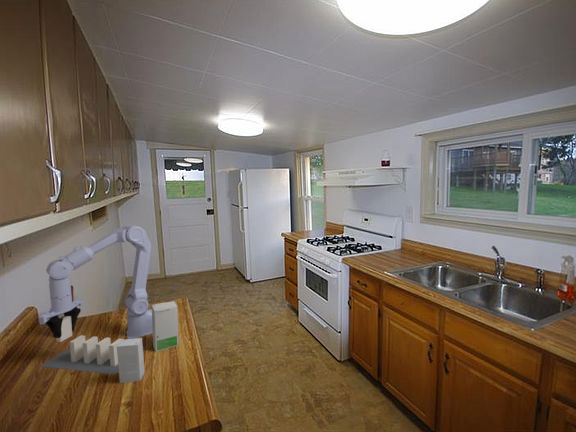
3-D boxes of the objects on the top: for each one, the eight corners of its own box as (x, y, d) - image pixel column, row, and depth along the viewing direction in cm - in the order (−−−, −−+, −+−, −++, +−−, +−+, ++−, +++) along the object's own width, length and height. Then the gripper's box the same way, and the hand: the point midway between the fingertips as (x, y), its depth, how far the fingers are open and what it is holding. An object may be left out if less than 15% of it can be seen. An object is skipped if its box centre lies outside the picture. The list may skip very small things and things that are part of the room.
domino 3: (84, 362, 97) (82, 343, 97) (95, 355, 102) (93, 336, 101) (88, 363, 97) (86, 343, 96) (99, 355, 101) (97, 336, 101)
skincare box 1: (145, 373, 92) (142, 337, 91) (140, 382, 88) (138, 344, 87) (124, 375, 91) (121, 339, 90) (119, 384, 87) (116, 346, 86)
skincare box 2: (155, 353, 104) (152, 311, 102) (152, 344, 109) (150, 304, 108) (179, 346, 108) (177, 305, 107) (176, 338, 114) (174, 299, 112)
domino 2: (71, 361, 98) (69, 341, 98) (82, 354, 103) (81, 335, 102) (75, 362, 98) (73, 342, 97) (86, 354, 102) (85, 335, 102)
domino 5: (110, 365, 96) (109, 345, 95) (120, 358, 100) (119, 338, 99) (114, 366, 95) (113, 345, 95) (124, 358, 100) (123, 338, 99)
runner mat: (39, 367, 96) (39, 366, 96) (72, 347, 108) (72, 346, 108) (114, 375, 91) (114, 374, 91) (140, 354, 103) (140, 353, 103)
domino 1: (56, 341, 98) (54, 321, 98) (68, 335, 103) (66, 316, 102) (60, 341, 98) (59, 322, 98) (72, 335, 102) (70, 316, 102)
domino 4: (97, 364, 97) (95, 344, 96) (107, 356, 101) (106, 337, 100) (101, 364, 96) (99, 344, 96) (111, 357, 101) (110, 337, 100)
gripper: (70, 287, 107) (73, 323, 108) (29, 303, 93) (33, 343, 94) (86, 288, 106) (89, 324, 107) (47, 304, 91) (51, 345, 93)
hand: (64, 333), depth 100 cm, fingers closed on domino 1, 4 cm apart
